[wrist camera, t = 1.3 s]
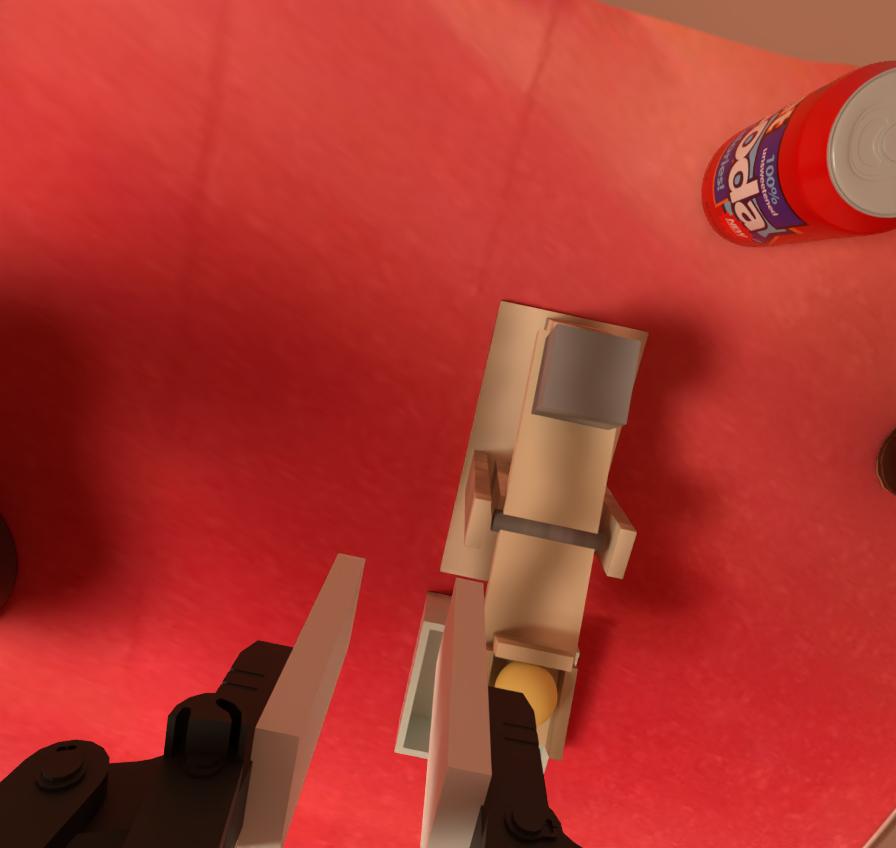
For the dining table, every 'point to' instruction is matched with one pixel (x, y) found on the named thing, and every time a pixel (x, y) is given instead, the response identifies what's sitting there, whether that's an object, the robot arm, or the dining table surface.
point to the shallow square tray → (428, 681)
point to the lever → (556, 508)
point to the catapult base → (496, 443)
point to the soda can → (811, 167)
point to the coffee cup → (887, 463)
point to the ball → (531, 687)
